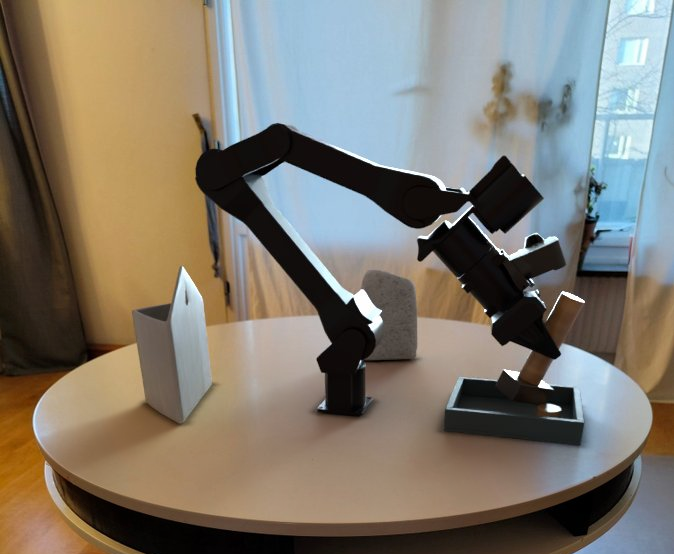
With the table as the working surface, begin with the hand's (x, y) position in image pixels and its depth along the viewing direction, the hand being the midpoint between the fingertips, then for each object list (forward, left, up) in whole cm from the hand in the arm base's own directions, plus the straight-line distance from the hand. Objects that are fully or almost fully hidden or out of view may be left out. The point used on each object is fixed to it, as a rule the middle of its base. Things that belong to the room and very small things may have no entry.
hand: (556, 353), depth 78 cm
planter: (-7, +52, -9) cm, 54 cm away
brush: (0, +4, -6) cm, 7 cm away
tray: (0, +4, -9) cm, 10 cm away
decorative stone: (+23, +27, -9) cm, 37 cm away
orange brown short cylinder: (-2, 0, -9) cm, 9 cm away
